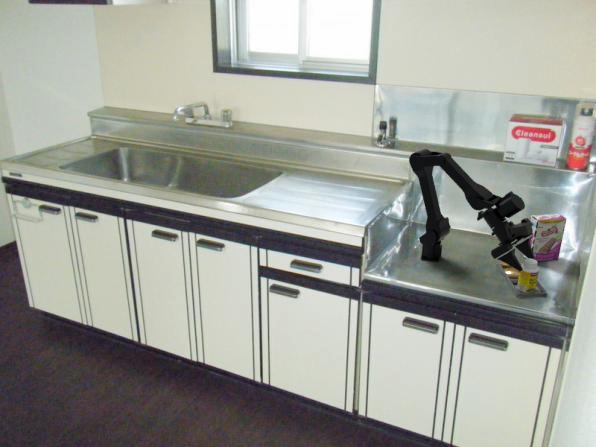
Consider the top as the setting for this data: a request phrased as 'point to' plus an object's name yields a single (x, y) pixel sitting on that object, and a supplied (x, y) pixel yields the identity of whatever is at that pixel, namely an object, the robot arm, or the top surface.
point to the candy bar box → (547, 236)
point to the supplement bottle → (528, 276)
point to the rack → (512, 277)
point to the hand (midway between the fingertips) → (527, 265)
